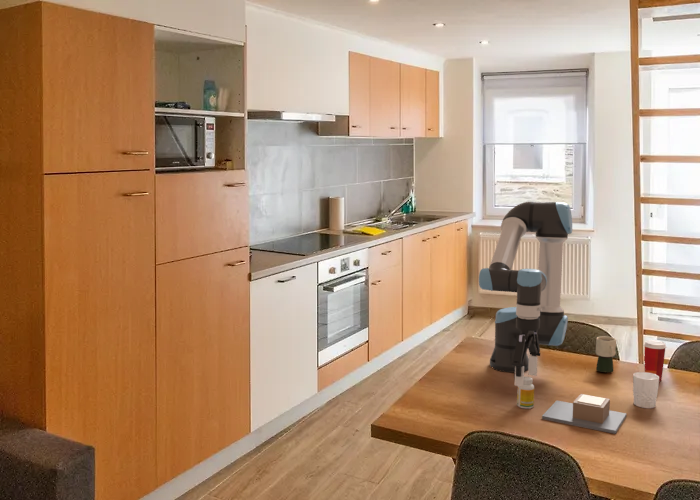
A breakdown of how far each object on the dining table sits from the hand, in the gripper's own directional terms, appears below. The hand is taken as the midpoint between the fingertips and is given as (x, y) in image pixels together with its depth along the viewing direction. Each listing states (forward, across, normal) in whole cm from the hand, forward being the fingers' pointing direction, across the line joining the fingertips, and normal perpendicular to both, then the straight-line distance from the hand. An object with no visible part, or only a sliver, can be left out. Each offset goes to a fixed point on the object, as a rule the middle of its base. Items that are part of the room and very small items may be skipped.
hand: (525, 380), depth 223 cm
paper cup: (+8, +52, -31) cm, 61 cm away
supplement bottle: (+9, +1, 0) cm, 9 cm away
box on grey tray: (+9, +1, -19) cm, 21 cm away
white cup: (+9, +23, -33) cm, 41 cm away
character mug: (+8, +52, -14) cm, 54 cm away
